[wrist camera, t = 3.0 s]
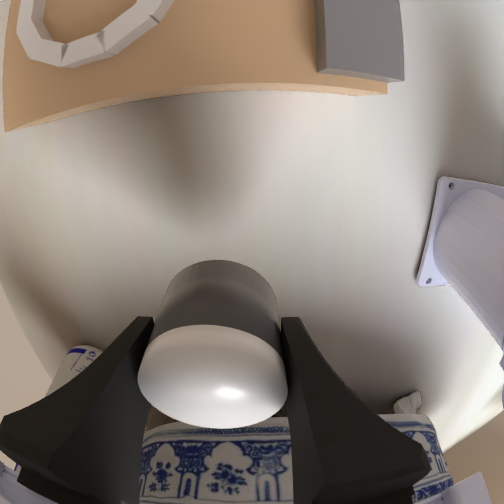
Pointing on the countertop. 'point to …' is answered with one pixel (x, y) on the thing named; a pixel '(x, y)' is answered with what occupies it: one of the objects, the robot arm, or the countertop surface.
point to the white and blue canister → (71, 369)
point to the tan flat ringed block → (191, 51)
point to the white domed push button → (216, 349)
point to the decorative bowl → (256, 460)
